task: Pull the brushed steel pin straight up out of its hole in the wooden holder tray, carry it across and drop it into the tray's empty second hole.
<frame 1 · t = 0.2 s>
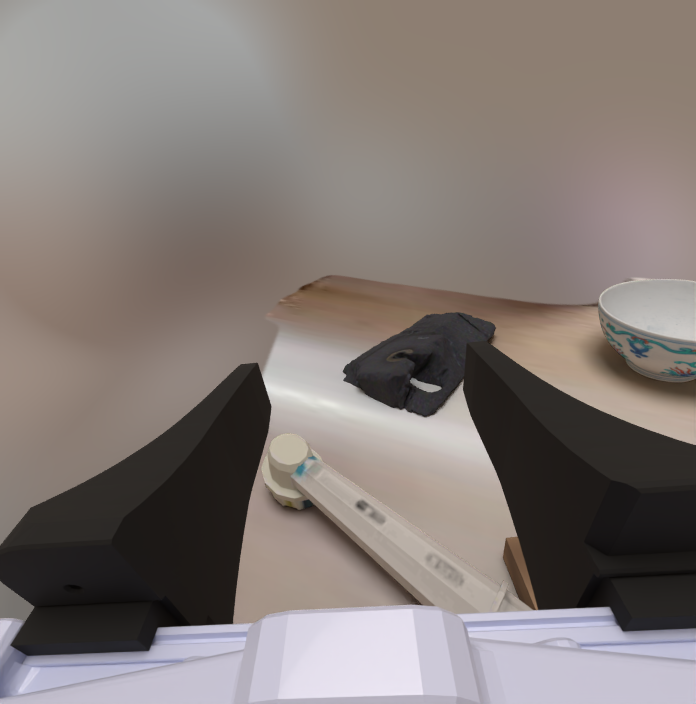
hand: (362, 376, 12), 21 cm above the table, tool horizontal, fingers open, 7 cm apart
chinaware: (660, 366, 42), on the table
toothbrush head: (377, 550, 29), on the table, touching wooden holder tray
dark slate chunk: (424, 361, 51), on the table
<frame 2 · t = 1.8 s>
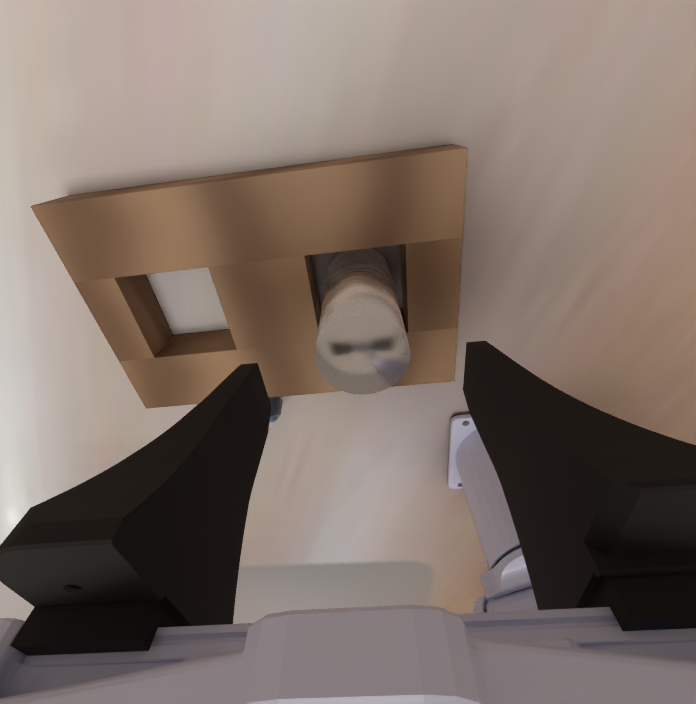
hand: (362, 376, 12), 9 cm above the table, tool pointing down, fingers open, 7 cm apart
wooden holder tray: (280, 286, 21), on the table
steel pin: (358, 277, 20), resting in wooden holder tray
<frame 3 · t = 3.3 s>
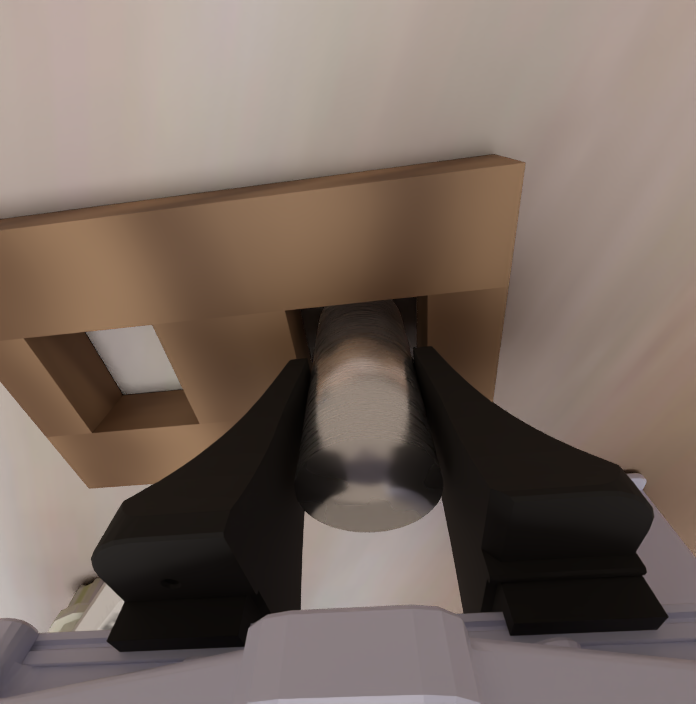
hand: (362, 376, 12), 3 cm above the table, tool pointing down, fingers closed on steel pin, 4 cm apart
wooden holder tray: (258, 338, 16), on the table
steel pin: (360, 327, 15), resting in wooden holder tray, touching gripper
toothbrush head: (155, 537, 25), on the table, touching wooden holder tray
when the fingers open (5 cm above the table, at t = 8.1 s): steel pin drops 1 cm, resting in wooden holder tray.
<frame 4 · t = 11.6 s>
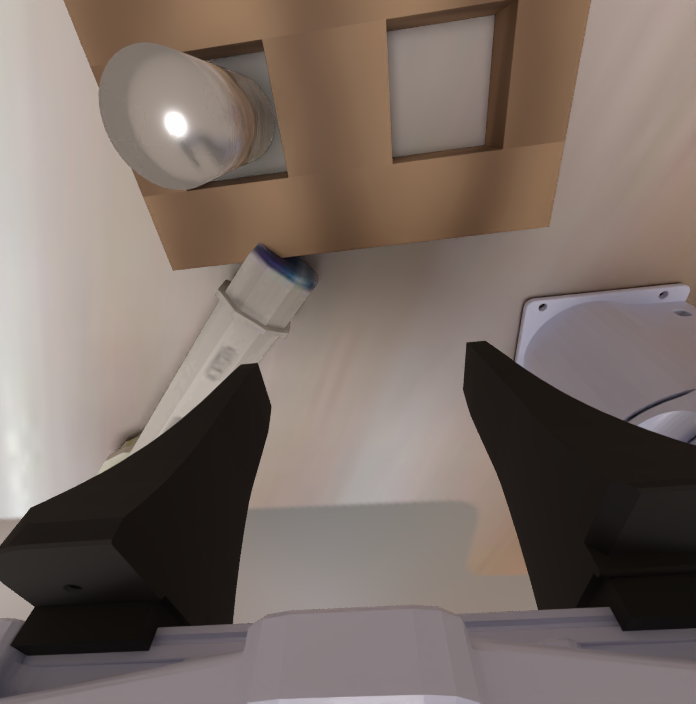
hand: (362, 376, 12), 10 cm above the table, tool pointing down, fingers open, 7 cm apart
wooden holder tray: (339, 106, 17), on the table
steel pin: (236, 120, 17), resting in wooden holder tray
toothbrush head: (202, 380, 26), on the table, touching wooden holder tray
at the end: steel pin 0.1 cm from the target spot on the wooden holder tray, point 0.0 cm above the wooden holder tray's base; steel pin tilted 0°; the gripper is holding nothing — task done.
